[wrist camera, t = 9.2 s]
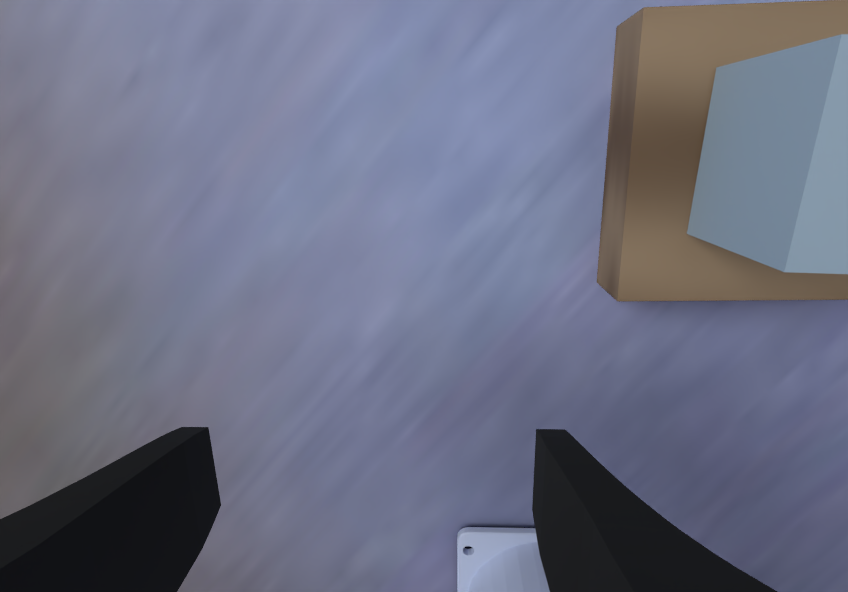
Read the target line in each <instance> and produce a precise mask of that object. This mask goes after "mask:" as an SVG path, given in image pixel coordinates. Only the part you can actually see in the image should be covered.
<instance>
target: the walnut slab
mask: <svg viewBox="0 0 848 592" xmlns="http://www.w3.org/2000/svg"><path fill="white" fill-rule="evenodd" d="M841 34H848V0H828V1H802V2H775V3H749V4H723V5H696V6H670V7H644V8H642V9H641V10H640V11H638V12H637V13H635V14H634V15H633V16H631V17H630V18H628V19H627V20H626V21H624V22H623V23H621V24H620V25H619V26H617V29H616V42H615V55H614V68H613V81H612V93H611V106H610V119H609V132H608V145H607V158H606V170H605V183H604V196H603V209H602V222H601V234H600V247H599V260H598V273H597V283H598V284H599V285H600V286H601V287H602V288H603V289H605V290H606V291H607V292H608V293H609V294H610V295H611V296H612V297H613V298H614V299H615V300H616V301H721V300H848V274H826V273H793V272H782V271H780V270H777V269H775V268H772V267H770V266H767V265H765V264H762V263H760V262H757V261H754V260H752V259H749V258H747V257H744V256H742V255H739V254H737V253H734V252H732V251H729V250H727V249H724V248H722V247H719V246H716V245H714V244H711V243H709V242H706V241H704V240H701V239H699V238H696V237H694V236H691V235H689V234H687V230H688V224H689V218H690V213H691V207H692V202H693V196H694V190H695V185H696V179H697V173H698V168H699V162H700V157H701V151H702V145H703V140H704V134H705V129H706V123H707V117H708V112H709V106H710V101H711V95H712V89H713V84H714V78H715V72H716V67H720V66H724V65H728V64H732V63H735V62H739V61H743V60H747V59H750V58H754V57H758V56H762V55H765V54H769V53H773V52H777V51H781V50H784V49H788V48H792V47H796V46H799V45H803V44H807V43H811V42H814V41H818V40H822V39H826V38H829V37H833V36H837V35H841Z"/></svg>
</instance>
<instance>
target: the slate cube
mask: <svg viewBox="0 0 848 592" xmlns="http://www.w3.org/2000/svg"><path fill="white" fill-rule="evenodd" d="M687 234H689V235H691V236H694V237H696V238H699V239H701V240H704V241H706V242H709V243H711V244H714V245H716V246H719V247H722V248H724V249H727V250H729V251H732V252H734V253H737V254H739V255H742V256H744V257H747V258H749V259H752V260H754V261H757V262H760V263H762V264H765V265H767V266H770V267H772V268H775V269H777V270H780V271H782V272H793V273H826V274H848V34H841V35H837V36H833V37H829V38H826V39H822V40H818V41H814V42H811V43H807V44H803V45H799V46H796V47H792V48H788V49H784V50H781V51H777V52H773V53H769V54H765V55H762V56H758V57H754V58H750V59H747V60H743V61H739V62H735V63H732V64H728V65H724V66H720V67H716V72H715V78H714V84H713V89H712V95H711V101H710V106H709V112H708V117H707V123H706V129H705V134H704V140H703V145H702V151H701V157H700V162H699V168H698V173H697V179H696V185H695V190H694V196H693V202H692V207H691V213H690V218H689V224H688V230H687Z"/></svg>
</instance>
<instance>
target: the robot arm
mask: <svg viewBox="0 0 848 592" xmlns="http://www.w3.org/2000/svg"><path fill="white" fill-rule="evenodd" d="M220 506H221V502H220V496H219V490H218V484H217V478H216V472H215V466H214V459H213V453H212V447H211V441H210V435H209V429H208V427H181V428H178V429H176V430H174V431H171V432H169V433H167V434H165V435H163V436H161V437H159V438H157V439H155V440H153V441H151V442H150V443H148V444H146V445H144V446H142V447H140V448H138V449H137V450H135V451H133V452H131V453H129V454H127V455H126V456H124V457H122V458H120V459H118V460H116V461H115V462H113V463H111V464H109V465H107V466H105V467H104V468H102V469H100V470H98V471H96V472H94V473H92V474H91V475H89V476H87V477H85V478H83V479H81V480H79V481H77V482H75V483H73V484H71V485H69V486H67V487H65V488H63V489H61V490H59V491H58V492H56V493H54V494H52V495H50V496H48V497H46V498H44V499H42V500H40V501H38V502H36V503H34V504H32V505H30V506H28V507H26V508H24V509H22V510H19V511H17V512H15V513H13V514H11V515H9V516H6V517H4V518H2V519H0V592H177V591H178V589H179V587H180V586H181V584H182V582H183V581H184V579H185V577H186V576H187V574H188V572H189V570H190V569H191V567H192V565H193V564H194V562H195V560H196V559H197V557H198V555H199V553H200V552H201V550H202V548H203V546H204V543H205V541H206V539H207V537H208V535H209V532H210V530H211V528H212V526H213V523H214V521H215V518H216V516H217V514H218V511H219V509H220ZM532 510H533V517H534V523H535V528H491V527H466V528H463V529H461V530H460V531H459V532H458V535H457V592H777V591H775V590H774V589H772V588H770V587H768V586H767V585H765V584H763V583H762V582H760V581H758V580H757V579H755V578H753V577H751V576H750V575H748V574H746V573H745V572H743V571H741V570H740V569H738V568H736V567H735V566H733V565H731V564H730V563H728V562H727V561H725V560H724V559H722V558H720V557H719V556H717V555H716V554H714V553H713V552H711V551H710V550H708V549H707V548H705V547H704V546H702V545H701V544H700V543H698V542H697V541H695V540H694V539H692V538H691V537H689V536H688V535H686V534H685V533H684V532H682V531H681V530H679V529H678V528H677V527H675V526H674V525H673V524H671V523H670V522H669V521H667V520H666V519H665V518H663V517H662V516H661V515H660V514H658V513H657V512H656V511H655V510H653V509H652V508H651V507H650V506H648V505H647V504H646V503H645V502H643V501H642V500H641V499H640V498H638V497H637V496H636V495H635V494H634V493H633V492H631V491H630V490H629V489H628V488H627V487H626V486H624V485H623V484H622V483H621V482H620V481H619V480H618V479H617V478H615V477H614V476H613V475H612V474H611V473H610V472H609V471H608V470H607V469H606V468H605V467H604V466H602V465H601V464H600V463H599V462H598V461H597V460H596V459H595V458H594V457H593V456H592V455H591V454H590V453H589V452H588V451H587V450H586V449H585V448H584V447H583V446H582V445H581V444H580V443H579V442H578V441H577V440H576V439H575V438H574V437H573V436H571V435H570V434H569V433H568V432H567V431H566V430H555V429H536V446H535V467H534V487H533V508H532ZM466 546H470V547H472V548H470V549H466V548H464V547H466Z"/></svg>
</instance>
